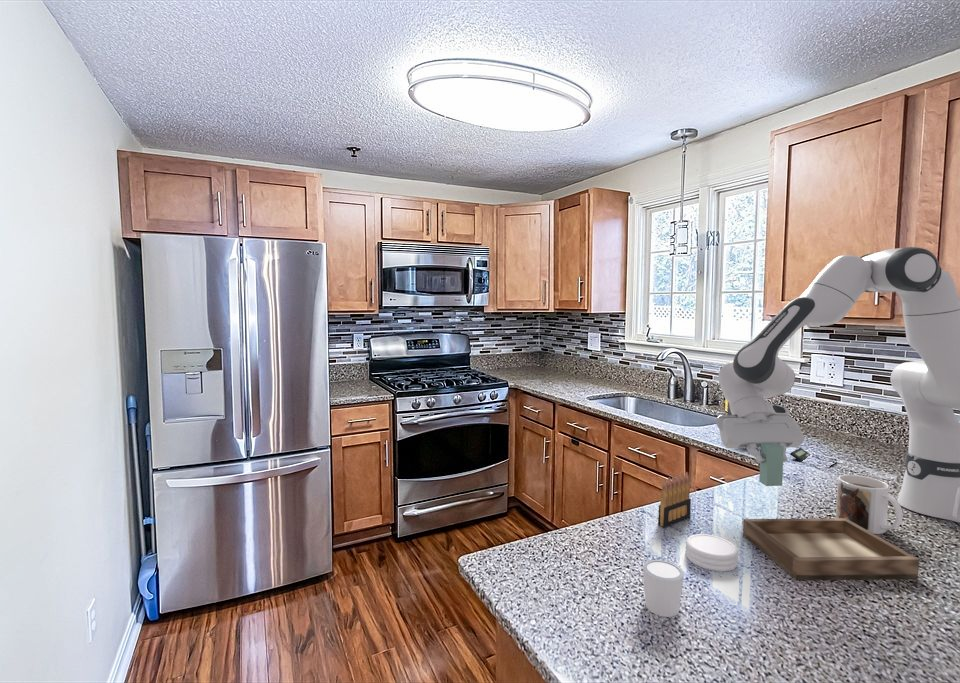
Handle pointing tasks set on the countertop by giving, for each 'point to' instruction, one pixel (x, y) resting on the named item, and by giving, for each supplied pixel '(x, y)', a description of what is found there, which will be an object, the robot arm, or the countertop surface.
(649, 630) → the countertop surface
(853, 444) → the countertop surface
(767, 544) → the wooden serving tray
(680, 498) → the ammunition clip
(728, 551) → the white round disc stack
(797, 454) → the calculator
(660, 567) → the white cylinder
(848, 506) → the mug
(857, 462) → the countertop surface
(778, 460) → the grey-green rectangular block
